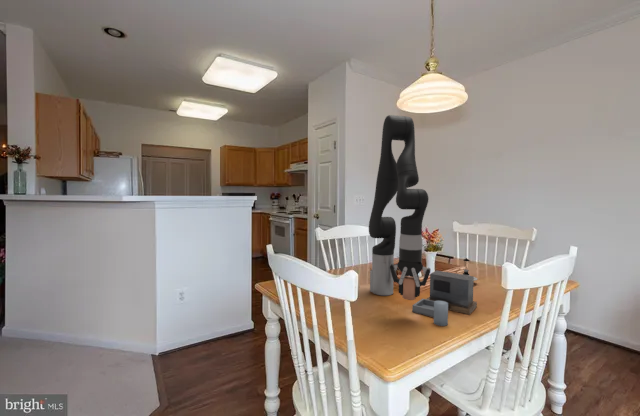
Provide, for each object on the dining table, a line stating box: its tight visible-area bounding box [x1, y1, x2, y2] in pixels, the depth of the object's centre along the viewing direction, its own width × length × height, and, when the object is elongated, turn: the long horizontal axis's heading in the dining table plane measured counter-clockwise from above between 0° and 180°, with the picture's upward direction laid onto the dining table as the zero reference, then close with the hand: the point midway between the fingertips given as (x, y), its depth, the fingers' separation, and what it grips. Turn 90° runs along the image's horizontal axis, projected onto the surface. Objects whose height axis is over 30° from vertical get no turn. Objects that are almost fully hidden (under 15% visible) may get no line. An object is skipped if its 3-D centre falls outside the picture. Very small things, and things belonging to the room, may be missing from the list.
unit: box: [426, 270, 478, 316], centre depth 119 cm, size 16×10×12 cm, turn 50°
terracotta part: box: [402, 276, 417, 301], centre depth 107 cm, size 4×4×7 cm
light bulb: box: [462, 258, 479, 284], centre depth 149 cm, size 12×10×10 cm
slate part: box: [433, 300, 449, 327], centre depth 103 cm, size 4×4×7 cm
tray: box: [411, 298, 434, 318], centre depth 113 cm, size 10×10×2 cm
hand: (409, 295), depth 107 cm, fingers closed on terracotta part, 4 cm apart
